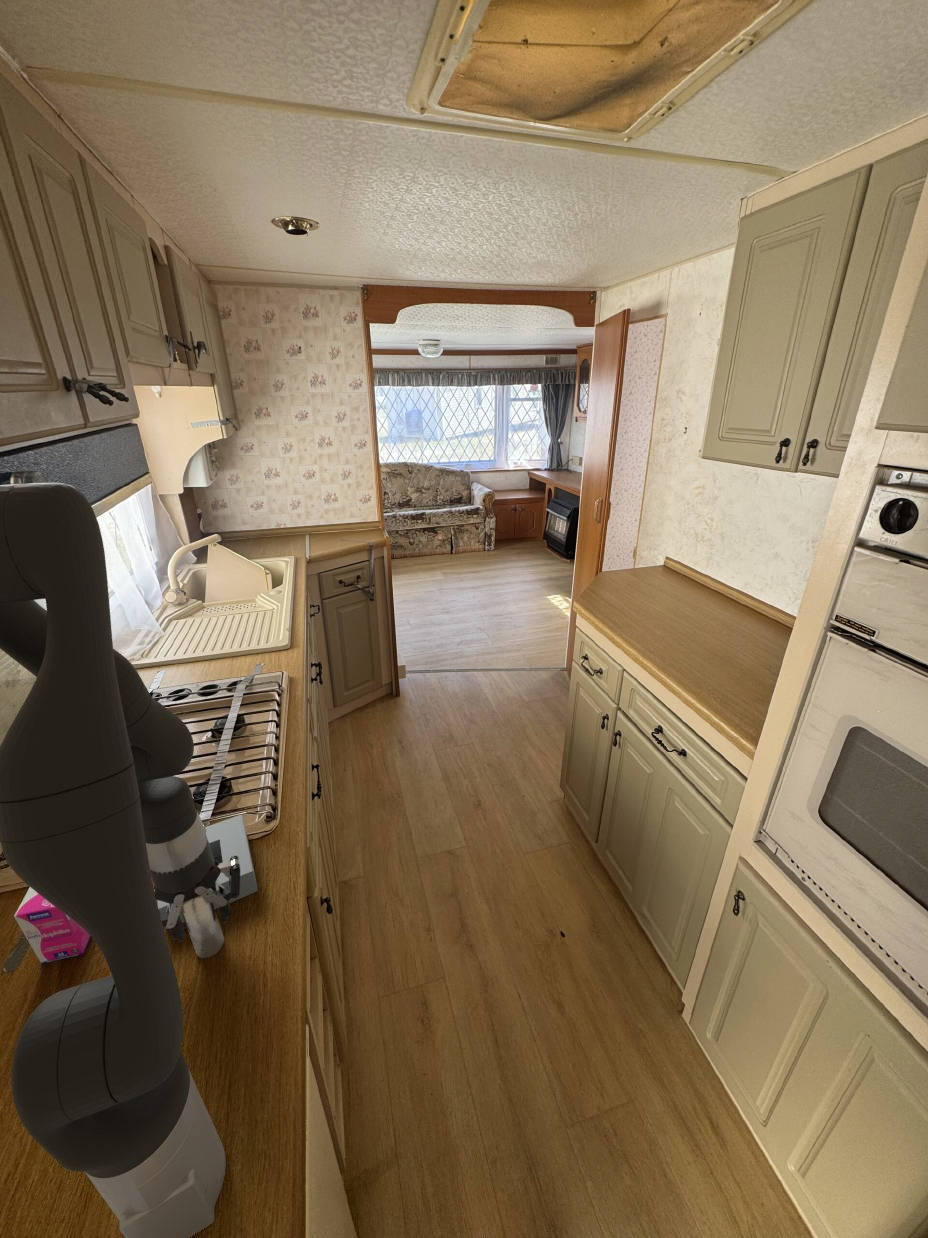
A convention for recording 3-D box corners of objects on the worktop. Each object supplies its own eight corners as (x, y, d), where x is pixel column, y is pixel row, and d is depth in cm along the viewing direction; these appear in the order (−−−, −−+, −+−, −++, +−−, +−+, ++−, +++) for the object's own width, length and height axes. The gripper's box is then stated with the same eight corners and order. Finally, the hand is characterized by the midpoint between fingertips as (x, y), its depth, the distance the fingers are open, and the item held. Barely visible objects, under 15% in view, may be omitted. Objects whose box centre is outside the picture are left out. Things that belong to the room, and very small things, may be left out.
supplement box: (40, 967, 75) (11, 916, 70) (57, 929, 80) (31, 880, 75) (84, 956, 76) (59, 906, 72) (99, 920, 82) (76, 871, 77)
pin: (225, 950, 77) (208, 897, 72) (196, 963, 75) (177, 910, 70) (222, 927, 80) (206, 876, 75) (195, 939, 79) (176, 887, 74)
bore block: (258, 891, 86) (252, 871, 84) (165, 930, 80) (157, 909, 78) (246, 833, 97) (241, 814, 95) (164, 863, 91) (157, 844, 89)
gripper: (112, 892, 63) (149, 974, 70) (236, 845, 69) (257, 925, 76) (116, 848, 69) (149, 928, 76) (229, 809, 75) (250, 886, 82)
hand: (203, 926), depth 76 cm, fingers open, 5 cm apart
